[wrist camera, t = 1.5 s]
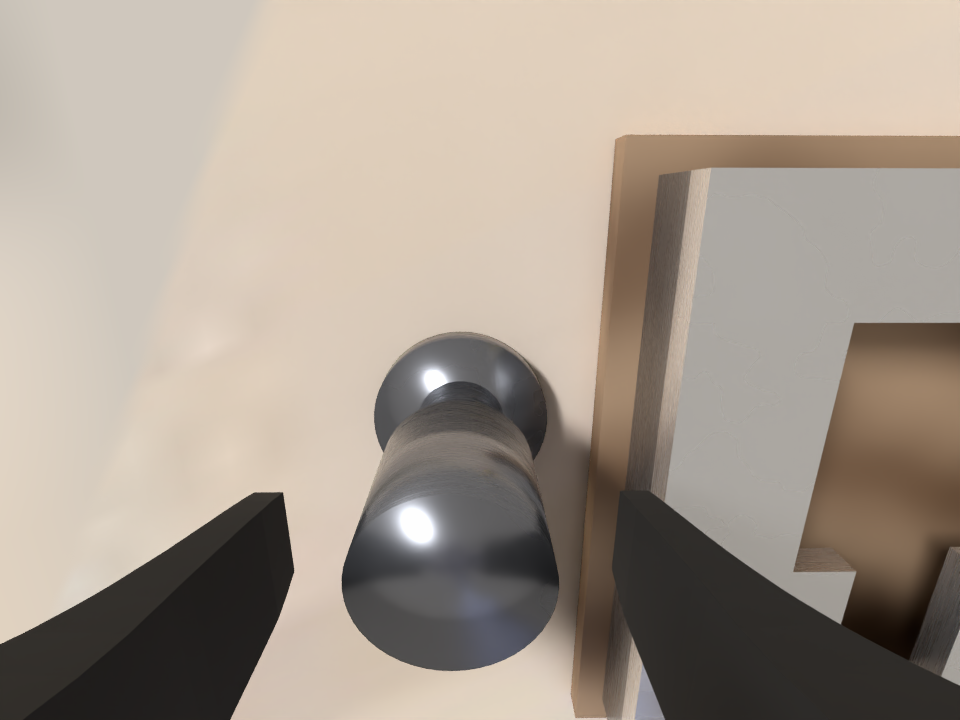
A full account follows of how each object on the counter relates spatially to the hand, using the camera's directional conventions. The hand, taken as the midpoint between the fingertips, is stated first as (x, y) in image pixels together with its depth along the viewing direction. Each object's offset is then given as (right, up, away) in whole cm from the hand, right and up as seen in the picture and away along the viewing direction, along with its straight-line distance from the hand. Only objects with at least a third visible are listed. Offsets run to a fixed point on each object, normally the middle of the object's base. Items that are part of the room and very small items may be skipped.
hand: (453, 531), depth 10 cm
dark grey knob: (0, +2, +6) cm, 6 cm away
